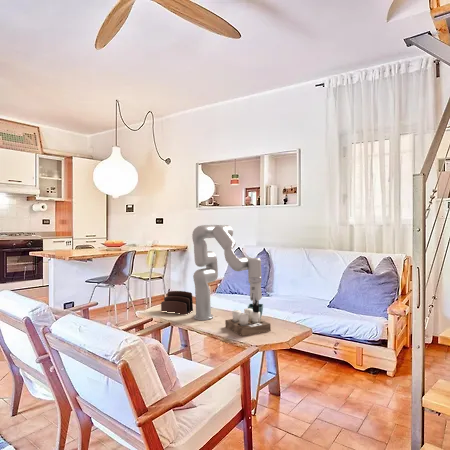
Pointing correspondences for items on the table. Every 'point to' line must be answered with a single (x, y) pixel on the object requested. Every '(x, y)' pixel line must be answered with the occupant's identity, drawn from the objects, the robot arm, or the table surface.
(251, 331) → the board
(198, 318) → the robot arm
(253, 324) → the card
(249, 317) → the button
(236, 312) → the button
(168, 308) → the letter holder
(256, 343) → the table surface
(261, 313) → the flower pot
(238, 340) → the table surface
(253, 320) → the button
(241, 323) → the button
